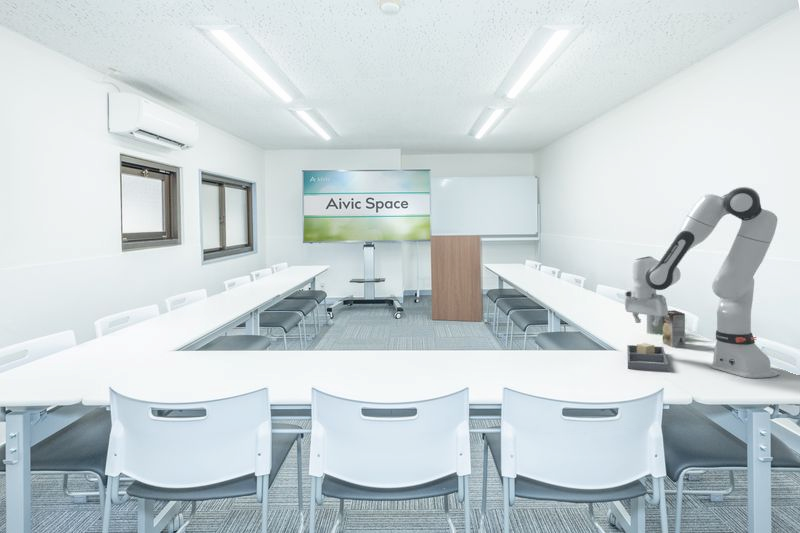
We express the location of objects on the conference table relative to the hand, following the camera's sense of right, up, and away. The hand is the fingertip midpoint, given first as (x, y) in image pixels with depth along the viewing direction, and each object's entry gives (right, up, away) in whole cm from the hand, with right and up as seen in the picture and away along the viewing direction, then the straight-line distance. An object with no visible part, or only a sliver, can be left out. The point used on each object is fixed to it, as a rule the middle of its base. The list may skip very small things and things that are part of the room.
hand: (646, 324), depth 208 cm
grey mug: (+31, -10, +46) cm, 56 cm away
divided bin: (-3, -15, -5) cm, 16 cm away
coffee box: (+23, -12, +18) cm, 31 cm away
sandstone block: (0, -14, +1) cm, 14 cm away
